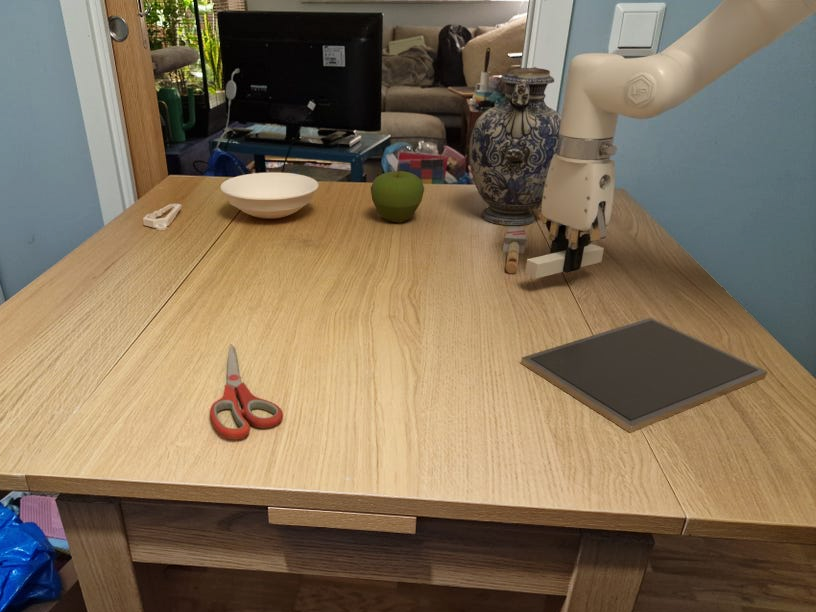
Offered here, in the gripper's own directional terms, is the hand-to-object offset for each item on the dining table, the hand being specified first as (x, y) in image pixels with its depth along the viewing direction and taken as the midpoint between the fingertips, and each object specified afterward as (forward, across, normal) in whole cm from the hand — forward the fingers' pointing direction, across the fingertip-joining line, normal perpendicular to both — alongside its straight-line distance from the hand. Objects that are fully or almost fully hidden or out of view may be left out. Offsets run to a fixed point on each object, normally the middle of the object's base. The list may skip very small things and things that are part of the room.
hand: (564, 266), depth 104 cm
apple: (+3, +40, +5) cm, 41 cm away
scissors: (+3, -4, +58) cm, 58 cm away
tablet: (+3, -25, +11) cm, 27 cm away
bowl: (+2, +55, +26) cm, 61 cm away
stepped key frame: (+2, +63, +47) cm, 78 cm away
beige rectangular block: (0, 0, 0) cm, 0 cm away
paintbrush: (+3, +14, -3) cm, 15 cm away
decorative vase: (+3, +30, -16) cm, 34 cm away
